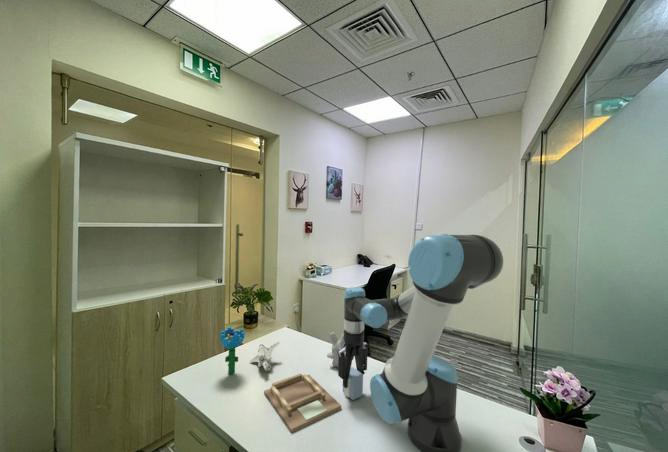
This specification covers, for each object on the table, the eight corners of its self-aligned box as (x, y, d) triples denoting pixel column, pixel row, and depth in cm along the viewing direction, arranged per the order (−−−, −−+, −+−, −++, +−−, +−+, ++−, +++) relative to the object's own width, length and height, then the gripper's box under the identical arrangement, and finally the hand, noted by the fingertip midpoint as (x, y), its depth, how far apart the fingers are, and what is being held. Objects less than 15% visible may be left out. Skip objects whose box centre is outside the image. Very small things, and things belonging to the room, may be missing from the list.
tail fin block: (362, 395, 98) (363, 374, 98) (353, 400, 95) (353, 377, 95) (352, 387, 103) (352, 366, 103) (342, 391, 100) (343, 370, 100)
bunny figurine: (349, 365, 120) (350, 332, 119) (347, 371, 115) (348, 337, 114) (328, 362, 122) (329, 329, 121) (325, 368, 117) (326, 334, 116)
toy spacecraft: (274, 334, 123) (245, 353, 120) (276, 351, 108) (242, 374, 106) (283, 347, 125) (254, 367, 122) (286, 366, 110) (253, 389, 107)
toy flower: (234, 381, 105) (235, 336, 105) (214, 377, 108) (215, 333, 108) (247, 369, 114) (248, 327, 114) (229, 365, 117) (230, 324, 116)
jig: (341, 409, 92) (341, 400, 92) (291, 433, 81) (291, 423, 81) (308, 377, 110) (309, 370, 110) (264, 393, 99) (264, 385, 99)
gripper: (364, 322, 107) (363, 380, 107) (328, 331, 97) (327, 395, 97) (378, 328, 101) (376, 389, 101) (341, 339, 91) (339, 407, 91)
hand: (352, 392), depth 99 cm, fingers closed on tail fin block, 4 cm apart
